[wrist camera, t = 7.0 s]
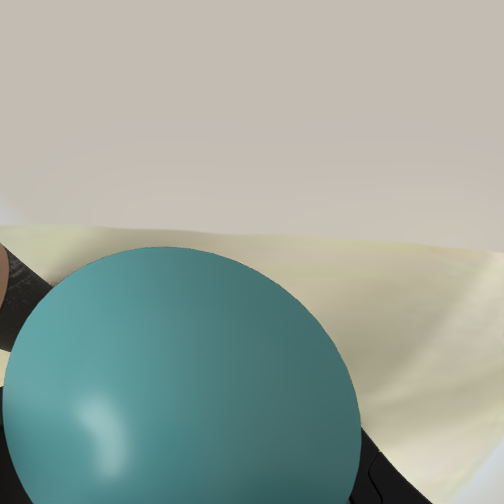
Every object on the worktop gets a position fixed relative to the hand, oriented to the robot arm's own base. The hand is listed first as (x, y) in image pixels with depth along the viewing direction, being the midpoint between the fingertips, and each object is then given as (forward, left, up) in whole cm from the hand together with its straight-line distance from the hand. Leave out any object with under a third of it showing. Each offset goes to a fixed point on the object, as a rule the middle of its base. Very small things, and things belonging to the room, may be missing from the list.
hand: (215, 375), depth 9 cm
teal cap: (-1, -1, -7) cm, 7 cm away
